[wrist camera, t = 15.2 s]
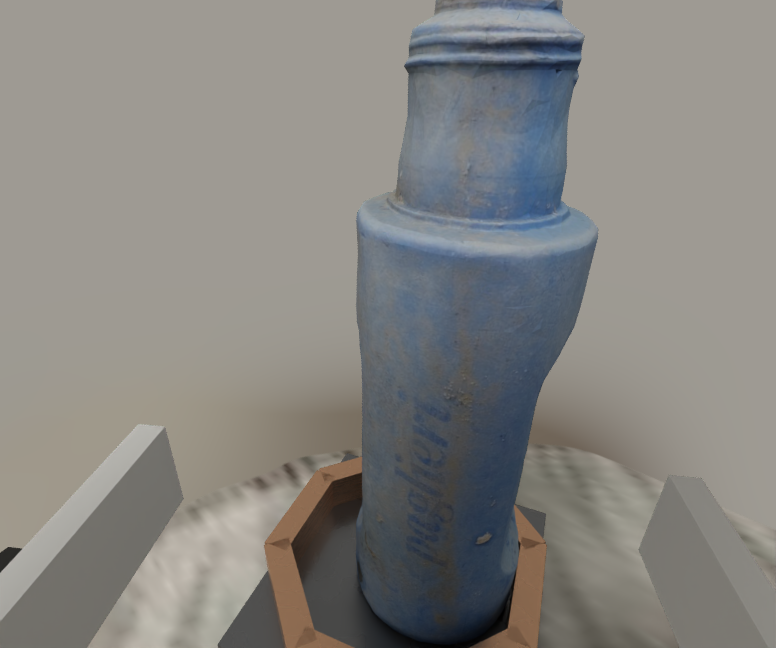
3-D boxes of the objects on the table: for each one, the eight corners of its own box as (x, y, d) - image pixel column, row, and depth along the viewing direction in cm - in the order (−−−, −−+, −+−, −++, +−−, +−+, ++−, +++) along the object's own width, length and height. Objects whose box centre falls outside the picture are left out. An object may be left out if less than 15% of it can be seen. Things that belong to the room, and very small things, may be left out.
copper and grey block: (532, 567, 36) (552, 488, 32) (498, 845, 23) (525, 769, 19) (348, 504, 41) (346, 429, 37) (232, 701, 28) (210, 617, 24)
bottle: (386, 492, 35) (400, 18, 21) (519, 531, 32) (636, 13, 18) (330, 612, 27) (292, -29, 13) (502, 680, 24) (690, -52, 10)
